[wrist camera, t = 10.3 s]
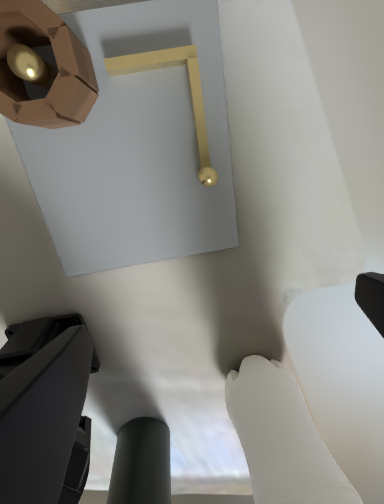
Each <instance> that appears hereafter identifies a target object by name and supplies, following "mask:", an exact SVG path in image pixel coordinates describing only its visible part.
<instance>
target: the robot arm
mask: <svg viewBox="0 0 384 504" xmlns="http://www.w3.org/2000/svg"><path fill="white" fill-rule="evenodd" d="M355 300H356V302H357V304H358V305H359V307H360V308H361V309H362V311H363V312H364V313H365V314H366V316H367V317H368V318H369V320H370V321H371V322H372V324H373V325H374V326H375V328H376V329H377V330H378V332H379V333H380V334H381V335H382V337H383V338H384V274H379V273H374V272H367V273H362V274H359V275H358V276H357V278H356V286H355ZM74 319H77V320H78V321H75V320H74ZM11 331H13V332H11ZM5 335H6V337H7V339H8V341H7V342H6V343H5V345H4V346H3V347H2V348H1V350H0V504H78V502H79V500H80V497H81V495H82V493H83V490H84V487H85V484H86V481H87V477H88V473H89V465H90V441H91V418H89V417H87V416H84V417H83V416H82V415H81V414H82V410H83V406H84V402H85V398H86V392H87V386H88V380H89V374H90V373H95V372H98V371H99V368H100V363H99V360H98V358H97V355H96V352H95V350H94V347H93V344H92V342H91V339H90V337H89V334H88V331H87V329H86V326H85V323H84V321H83V318H82V316H81V315H80V314H70V315H65V316H59V317H47V318H42V319H36V320H31V321H25V322H23V323H21V324H15V325H10V326H9V327H8V328H7V329H6V330H5Z"/></svg>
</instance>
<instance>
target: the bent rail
mask: <svg viewBox="0 0 384 504" xmlns="http://www.w3.org/2000/svg"><path fill="white" fill-rule="evenodd" d="M104 62H105V67H106V71H107V72H108V74H109V75H110V76H111V77H112V76H118V75H125V74H131V73H137V72H144V71H150V70H156V69H163V68H169V67H176V66H182V65H186V70H187V77H188V84H189V92H190V99H191V107H192V114H193V121H194V129H195V136H196V143H197V151H198V158H199V166H200V168H199V169H198V171H197V179H198V180H199V181H200V182H201V183H202V184H203V185H204V186H206V187H212V186H214V185H215V184H216V183H217V181H218V173H217V171H216V170H215V169H213V168H211V165H210V157H209V149H208V140H207V132H206V124H205V115H204V107H203V99H202V90H201V82H200V74H199V65H198V57H197V48H196V45H189V46H183V47H176V48H170V49H163V50H157V51H150V52H144V53H138V54H131V55H125V56H118V57H112V58H105V59H104Z"/></svg>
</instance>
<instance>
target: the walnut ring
mask: <svg viewBox="0 0 384 504" xmlns="http://www.w3.org/2000/svg"><path fill="white" fill-rule="evenodd" d="M16 44H21V45H25V46H27V47H28V48H32V47H39V46H46V45H52V48H53V52H54V55H55V59H56V62H57V66H58V69H59V72H58V74H57V76H56V78H55V80H54V82H53V84H52V86H51V88H50V90H49V92H48V94H47V96H46V98H43V99H37V100H32V99H30V98H29V97H28V94H27V91H26V88H25V85H24V82H23V79H22V78H20V77H18V76H17V75H15V74H14V73H13V72H12V70H11V69H10V67H9V65H8V62H7V53H8V51H9V49H10V48H11V47H12V46H13V45H16ZM95 92H99V88H98V84H97V80H96V76H95V72H94V68H93V64H92V59H91V55H90V54H89V53H88V50H87V49H86V48H85V47H84V45H83V44H82V43H81V42H80V40H79V39H78V38H77V37H76V35H75V34H74V33H73V32H72V30H71V29H70V28H69V27H68V25H67V24H66V23H65V22H64V20H63V19H61V18H60V17H59V16H58V15H57V14H55V13H54V12H53V11H52V10H51V9H49V8H48V7H47V6H46V5H45V4H43V3H42V2H41V1H40V0H0V113H1V114H3V115H4V116H5V117H7V118H8V119H10V120H11V121H13V122H16V123H19V124H25V125H30V126H36V127H42V128H48V129H56V128H63V127H69V126H76V125H81V123H80V122H85V120H86V118H87V116H88V114H89V113H90V111H91V109H92V107H93V105H94V104H95V102H96V100H97V98H98V96H99V95H97V94H96V93H95Z"/></svg>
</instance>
